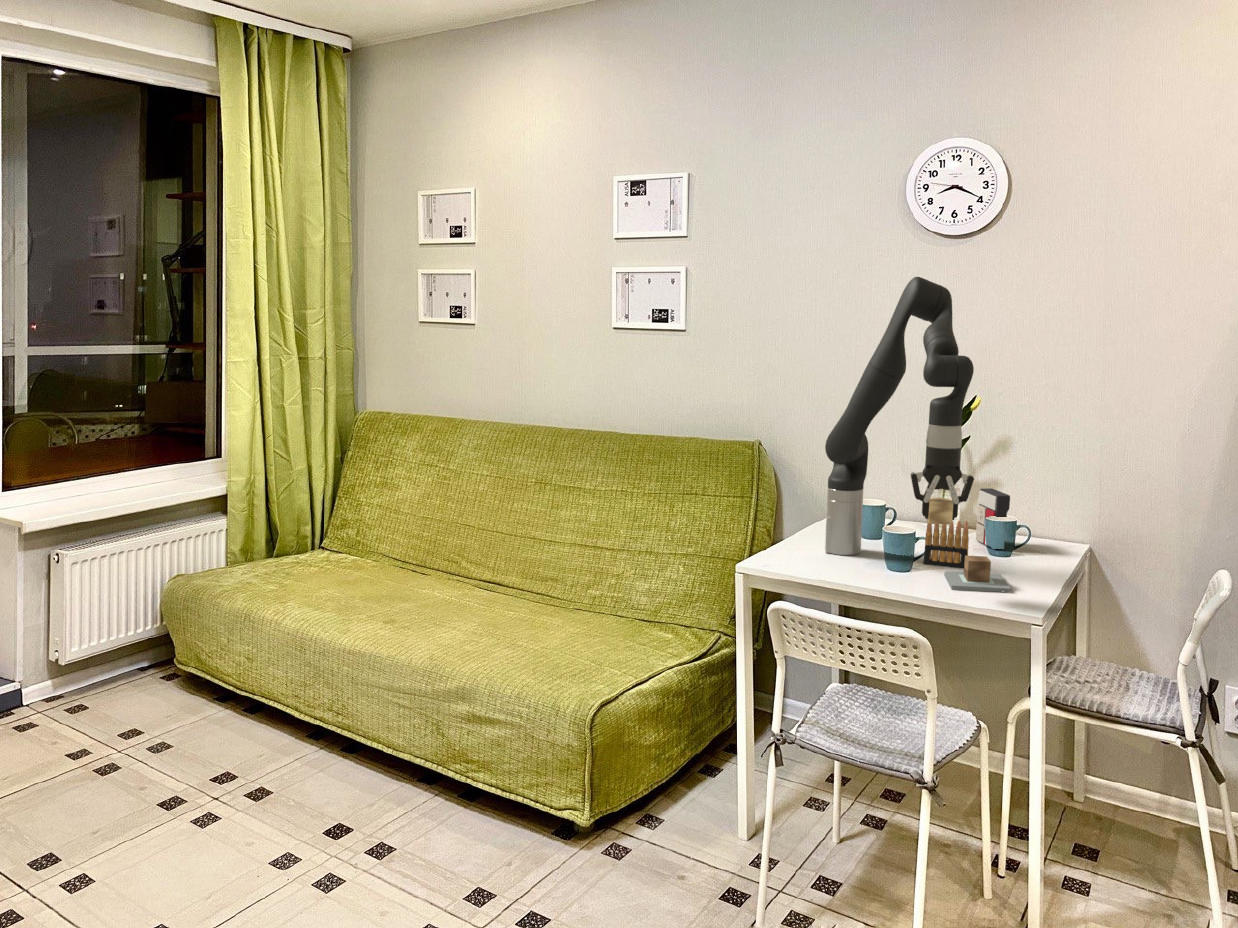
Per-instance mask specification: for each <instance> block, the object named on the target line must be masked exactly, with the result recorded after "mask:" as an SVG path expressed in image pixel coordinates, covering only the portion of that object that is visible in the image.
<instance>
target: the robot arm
mask: <svg viewBox="0 0 1238 928" xmlns="http://www.w3.org/2000/svg"><path fill="white" fill-rule="evenodd" d="M911 316H913V317H915V318H918V319H920V320H922V321H925V322H929V323H931V324H929V325H928V327H927V328H926V329H925V330H924V333H923V337H922V338H923V340H922V342H923V347H924V351H925V354H926V355H925V356H926V359H925V363H924V364H923V365H924V366H923V372H922V373H923V381H924V382H925V383H926V384H927V385H928V386H930V387H934V388H953V389H952V391H951V392H950V393H949V394H948V395H946V396H941V397H936V398H932V400H931V401H930V403H929V414H928V427H927V432H926V439H925V442H926V443H925V445H926V446H925V459H924V460H925V461H924V462H925V463H924V464H925V465H924V468H923V470H922V471H919V472H915V471H913V472H911V473H910V479H911V484H912V490H913V493H914V494H913V495H914V498H915V499H916V500H917V501H918V500H919V501H921V502H922V505H921V514H922V516H923V517H924V519H925V520H927V519H928V516H929V500H930V498H932V495H933V493H934V491H935V490H945V491H949V494H950V498H951V500H952V501H953V516H952V521H955V518H956V519H957V518H958V515H959V514H958V513H959V504H961V503H963V502H964V503H966V502H967V501H968V499H969V496H970V493H971V489H972V487H973V484H974V481H975V477H974V476H973V475H972V474H965V473H963V472H962V471H961V458H962V457H961V456H962V443H963V431H962V423H963V411H964V410H963V408H964V403H965V399H966V396H967V393H968V389H969V387H970V384H971V382H972V379H973V376H974V370H975V368H974V364H973V361H972V360H971V359H970V357H969V356H966V355H959V353H960V351H959V346H958V343H957V340H956V337H955V334H954V329H953V299H952V294H951V292H950V290H949V289H948V288H946V287H945V286H944V285H940V284H938V283H936V282H933V281H931V280H928V279H926V278H923V277H921V276H914V277H913V278H912V279H910V280H909V281H908V283H907V284H906V286H905V287H904V289H903V290H902V293H901V296H900V297H899V299H898V302H897V304H896V307H895V308H894V311H893V314H892V316H891V317H890V320H889V323H888V325H887V327H886V330H885V331H884V333H883V335H882V338H881V339H880V341H879V343H878V345H877V346H876V349H875V351H874V352H873V354H872V356H871V358H870V359H869V361H868V363H867V365H866V367H865V369H864V370H863V373H862V374H861V376H860V380H859V382H858V383H857V385H856V387H855V389H854V391H853V392H852V393H853V394H852V395H851V398H850V399H849V402H848V405H846V406H847V407H846V408H845V410H844V411H843V412H842V415H841V416H840V418H839V419H838V421H837V423H836V424H835V425H834V427H833V429H832V430H831V432H829V434H828V436H827V438H826V441H825V446H824V448H825V454H826V456H827V458H828V459H829V460H830V461H831V462H832V463H833V465H832V469H831V472H830V474H829V475H828V479H827V497H826V498H827V501H826V514H825V515H826V517H825V518H826V519H825V520H826V521H825V542H824V544H825V546H824V548H825V549H824V551H825V553H826V554H833V555H840V556H853V555H854V556H855V555H858V554H861V551H862V533H863V531H862V530H863V529H862V528H863V507H864V506H863V505H864V504H863V503H864V502H863V501H864V485H865V480H866V477H867V473H868V472H867V471H868V463H869V462H868V461H869V441H868V438H867V435H866V433H867V430H868V428H869V426H870V424H871V423H872V421H873V420H874V419H875V417H876V416H877V415H878V414H879V413H880V411H881V410H882V409H883V408H884V407H885V406H886V404H887V403H889V400H890V399H891V398H892V397H893V396H894V394H895V393H896V391H897V389H898V387H899V385H900V383H901V382H902V379H903V377H904V375H905V373H906V370H907V355H906V347H905V345H906V343H905V333H906V328H907V325H908V323H909V320H910V317H911ZM922 478H924V479H925V481H926V482H927V486H926V488H925V491H924V493H923V494H922V493H921V491H920V485H919V483H921V481H922ZM960 479H962V484H963V486H962V487H963V488H962V491H961V494H960V495H958V494H957V491H956V484H957V483H958V482H959V481H960Z"/></svg>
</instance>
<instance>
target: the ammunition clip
mask: <svg viewBox="0 0 1238 928" xmlns="http://www.w3.org/2000/svg"><path fill="white" fill-rule="evenodd" d="M948 526H949V527H948V533H947V524H941V530H940V524H934V526H933V524H930V523H928V522H927V524H926V532H925V541H924V552H923V562H922V565H926V566H933V567H934V566H935V567H943V568H944V567H946V568H953V569H954V568H955V569H962V570H964V565H965V556H969V542H970V537H969V524H968V520H966V521H965V522H964V524H963V530H962V524H961V521H960V520H958V521H957V523H956V527H955V528H954V526H955V525H954V520H952V525H951V524H948ZM932 527H934V528H932ZM954 531H955V532H954ZM962 531H963V532H962Z"/></svg>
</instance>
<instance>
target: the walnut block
mask: <svg viewBox="0 0 1238 928" xmlns="http://www.w3.org/2000/svg"><path fill="white" fill-rule="evenodd" d="M991 564H992V561H991V560H990V558H989V557H988V556H983V555H981V556H980V555H979V556H978V555H968V556H965V565H964V569H963V572H964V577H965V579H966V580H967V581H968V582H989V583H990V573H991V569H992V565H991Z"/></svg>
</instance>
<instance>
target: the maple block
mask: <svg viewBox="0 0 1238 928" xmlns="http://www.w3.org/2000/svg"><path fill="white" fill-rule="evenodd" d="M952 516H953V501H952V498H951V497H949V498H948V497H946V498H945V497H930V500H929V516H928V519H926V520H927V523H930V524H932V525H933V524H934V525H935V524H939V525H942V524H946V525H949V524H951V525H952V521H953V520H952Z"/></svg>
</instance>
